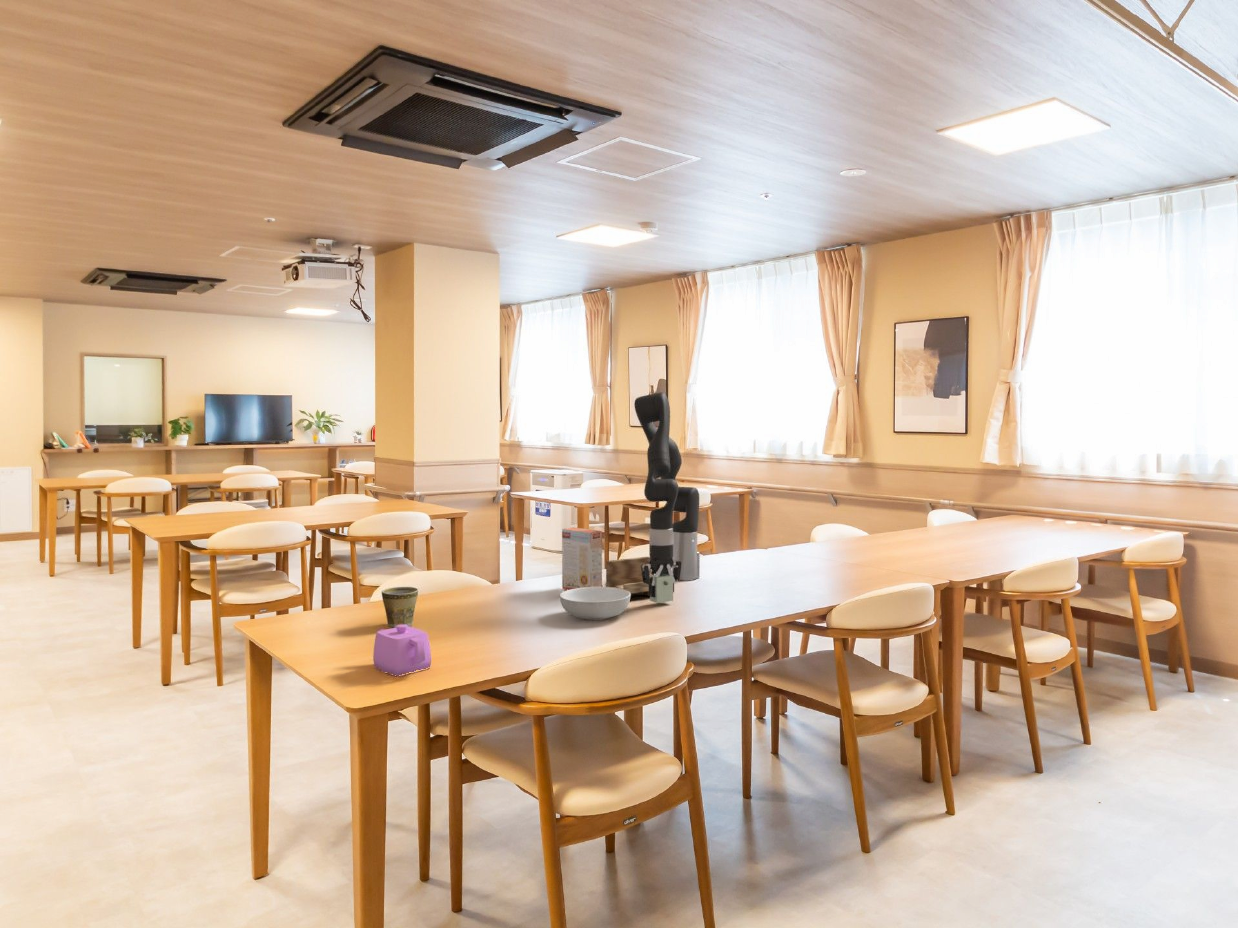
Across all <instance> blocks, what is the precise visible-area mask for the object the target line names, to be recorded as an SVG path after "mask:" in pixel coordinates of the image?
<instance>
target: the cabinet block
mask: <svg viewBox="0 0 1238 928" xmlns="http://www.w3.org/2000/svg"><path fill="white" fill-rule="evenodd" d="M652 580H653V577H652ZM649 601H650V602H653V603H656V604H660V603H667V602H673V601H674V593H673V575H672V576H669V575H664V574H663V575H660V576H659V577H657V578H656V583H655V597H651V596H649Z"/></svg>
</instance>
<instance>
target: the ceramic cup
mask: <svg viewBox="0 0 1238 928" xmlns="http://www.w3.org/2000/svg"><path fill="white" fill-rule="evenodd" d="M418 594H419V589H418V588H417V587H412V586H394V587H389V588H385V589H383V590H382V591H381V598H382V603H383V607H384V612H385V615H386V621H387V627H389V628H391V627H393V628H396V626H397V625H407V626H409V627H412V625H413V622H414V621H413V620H414V616H415V615H414V614H415V609H416V605H417V601H418Z"/></svg>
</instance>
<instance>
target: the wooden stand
mask: <svg viewBox="0 0 1238 928" xmlns="http://www.w3.org/2000/svg"><path fill="white" fill-rule="evenodd" d="M649 562H650V556H641V557H632V558H622V559H621V558H620V559H613V560H611V559H610V560H606V562H605V573H606V575H605V587H613V588H620V589H624V590H627V591H629V592H630V594H631V597H632V596H633V597H634V596H640V595H644V596H648V597H650V595H649V585H648V584H646V583H643V578H642V570H641V565H642V564H643V565H646V564H649ZM651 570H652V569H651V568H650V571H649V575H650V572H651Z"/></svg>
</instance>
